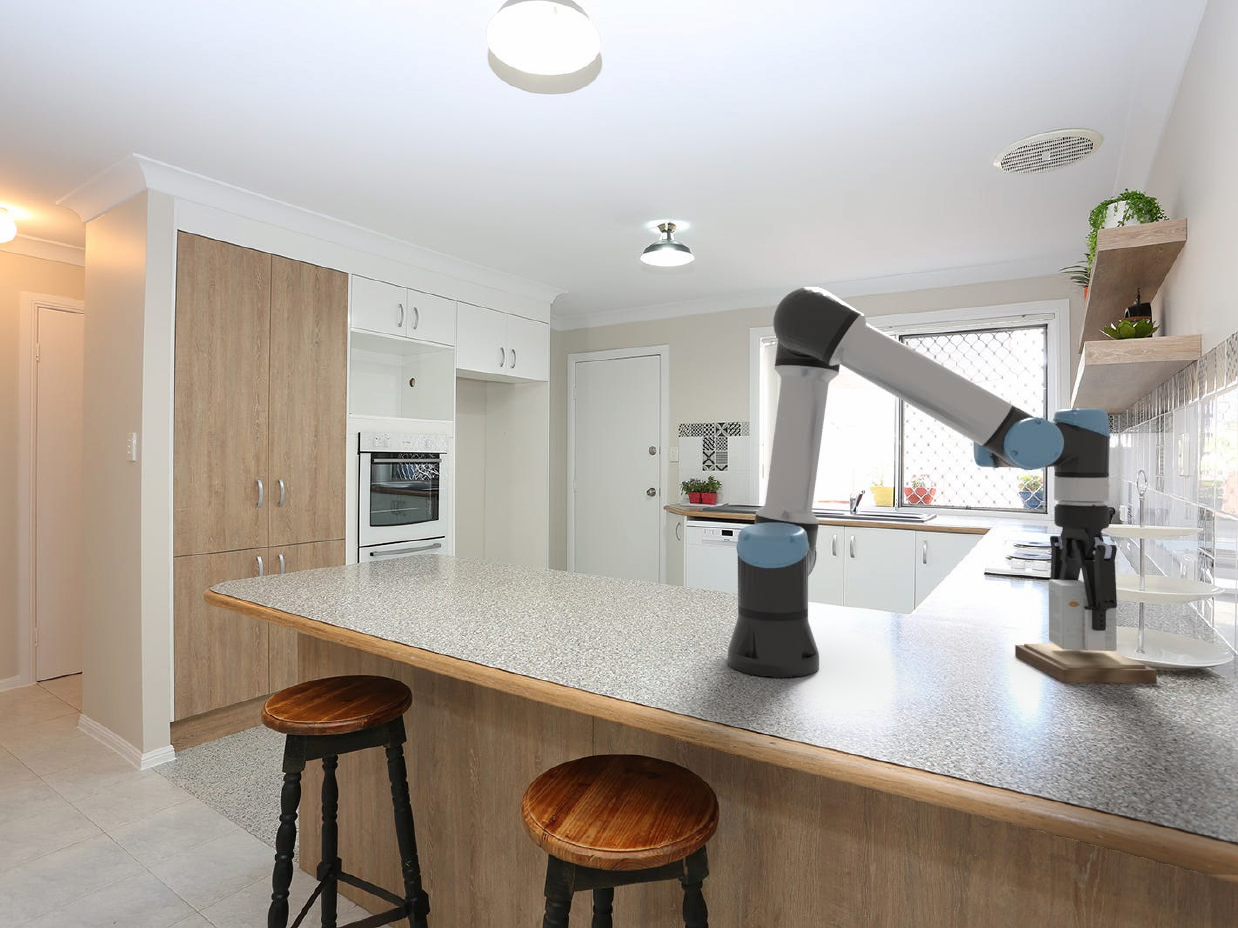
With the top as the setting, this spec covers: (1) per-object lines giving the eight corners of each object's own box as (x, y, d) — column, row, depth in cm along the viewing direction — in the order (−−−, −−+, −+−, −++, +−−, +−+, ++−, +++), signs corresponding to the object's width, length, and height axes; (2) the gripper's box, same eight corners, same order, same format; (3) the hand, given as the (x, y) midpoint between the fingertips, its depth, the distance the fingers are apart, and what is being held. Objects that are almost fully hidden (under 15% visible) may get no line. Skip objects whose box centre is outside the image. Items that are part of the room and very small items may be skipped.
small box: (1100, 642, 116) (1100, 580, 116) (1117, 652, 111) (1117, 586, 110) (1047, 640, 118) (1047, 578, 118) (1061, 649, 112) (1061, 584, 112)
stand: (1063, 682, 107) (1063, 666, 107) (1015, 656, 121) (1015, 642, 121) (1156, 682, 107) (1156, 666, 107) (1097, 656, 121) (1097, 642, 121)
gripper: (1147, 507, 104) (1146, 661, 104) (1069, 499, 123) (1069, 629, 124) (1095, 507, 104) (1095, 660, 105) (1026, 499, 124) (1026, 629, 124)
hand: (1081, 643), depth 114 cm, fingers closed on small box, 6 cm apart
